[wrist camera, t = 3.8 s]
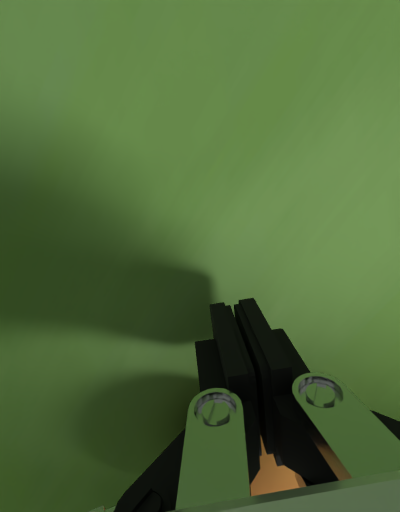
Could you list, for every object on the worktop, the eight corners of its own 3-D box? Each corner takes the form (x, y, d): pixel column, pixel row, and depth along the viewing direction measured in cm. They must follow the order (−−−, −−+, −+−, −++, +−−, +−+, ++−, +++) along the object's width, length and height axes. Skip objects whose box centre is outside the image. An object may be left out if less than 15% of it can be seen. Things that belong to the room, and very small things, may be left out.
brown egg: (386, 525, 9) (298, 424, 15) (229, 433, 9) (200, 365, 15) (289, 715, 9) (236, 533, 15) (113, 630, 8) (131, 476, 14)
